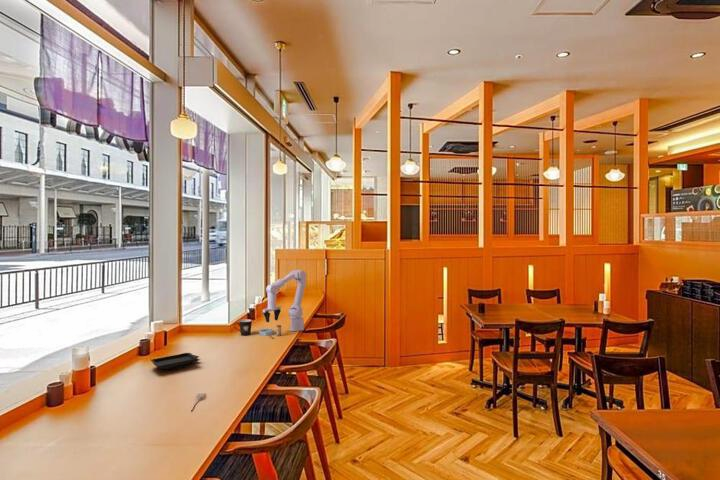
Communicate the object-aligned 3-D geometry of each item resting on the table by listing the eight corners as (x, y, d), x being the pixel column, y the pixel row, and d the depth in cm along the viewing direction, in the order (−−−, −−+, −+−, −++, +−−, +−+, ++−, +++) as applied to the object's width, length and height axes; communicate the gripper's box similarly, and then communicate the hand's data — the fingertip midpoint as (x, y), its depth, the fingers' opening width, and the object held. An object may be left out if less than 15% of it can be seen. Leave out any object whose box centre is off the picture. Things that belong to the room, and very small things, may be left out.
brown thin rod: (268, 335, 292) (268, 334, 292) (269, 335, 292) (269, 334, 292) (272, 339, 283) (272, 337, 283) (274, 338, 283) (274, 337, 283)
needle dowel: (280, 334, 294) (280, 324, 294) (281, 335, 291) (281, 325, 291) (275, 335, 293) (275, 325, 292) (277, 336, 290) (277, 326, 290)
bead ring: (271, 331, 304) (271, 328, 304) (275, 334, 295) (275, 331, 295) (257, 333, 299) (257, 329, 299) (261, 336, 290) (261, 332, 290)
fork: (184, 419, 170) (183, 413, 169) (201, 393, 190) (201, 388, 190) (191, 419, 170) (190, 413, 169) (207, 393, 190) (207, 388, 190)
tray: (170, 357, 243) (170, 348, 243) (209, 358, 241) (209, 349, 241) (140, 375, 213) (140, 365, 213) (184, 376, 211) (184, 366, 211)
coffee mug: (253, 333, 298) (253, 319, 297) (249, 336, 289) (249, 322, 289) (237, 332, 299) (237, 319, 299) (233, 336, 290) (233, 321, 290)
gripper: (276, 299, 301) (276, 318, 301) (259, 302, 289) (260, 322, 290) (282, 300, 296) (282, 319, 297) (266, 303, 285) (266, 323, 285)
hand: (272, 321), depth 293 cm, fingers open, 7 cm apart
